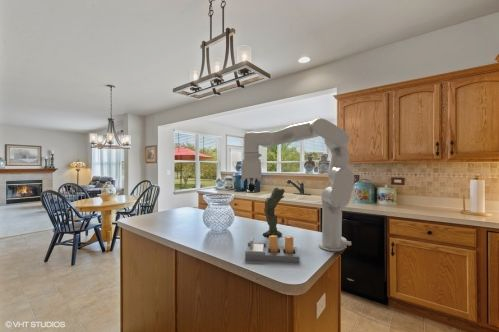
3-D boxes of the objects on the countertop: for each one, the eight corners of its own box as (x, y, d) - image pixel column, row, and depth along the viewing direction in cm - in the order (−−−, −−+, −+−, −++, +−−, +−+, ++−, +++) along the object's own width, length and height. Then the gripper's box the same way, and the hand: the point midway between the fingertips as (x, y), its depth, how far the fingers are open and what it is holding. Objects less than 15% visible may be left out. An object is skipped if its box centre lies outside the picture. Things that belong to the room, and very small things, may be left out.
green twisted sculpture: (259, 237, 135) (272, 186, 136) (256, 233, 142) (268, 185, 143) (281, 240, 138) (293, 191, 140) (276, 237, 145) (288, 190, 147)
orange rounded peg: (284, 254, 112) (284, 235, 112) (292, 254, 111) (292, 236, 111) (285, 258, 108) (285, 238, 108) (294, 258, 107) (294, 238, 107)
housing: (296, 252, 115) (296, 244, 115) (299, 262, 103) (299, 253, 103) (247, 249, 117) (248, 242, 117) (245, 259, 105) (245, 251, 105)
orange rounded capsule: (276, 253, 113) (275, 234, 113) (279, 256, 109) (278, 236, 109) (268, 254, 111) (267, 235, 112) (271, 257, 108) (270, 238, 108)
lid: (263, 246, 115) (263, 236, 115) (262, 253, 106) (263, 242, 106) (251, 245, 116) (251, 235, 116) (249, 253, 106) (249, 242, 106)
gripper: (266, 156, 123) (266, 191, 124) (238, 156, 125) (238, 190, 125) (265, 156, 116) (265, 193, 116) (236, 156, 117) (235, 192, 117)
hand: (251, 191), depth 121 cm, fingers closed
